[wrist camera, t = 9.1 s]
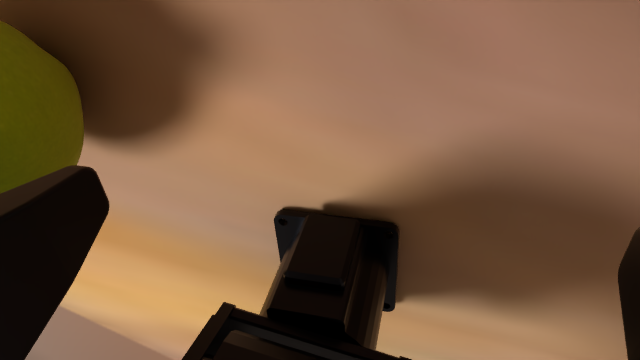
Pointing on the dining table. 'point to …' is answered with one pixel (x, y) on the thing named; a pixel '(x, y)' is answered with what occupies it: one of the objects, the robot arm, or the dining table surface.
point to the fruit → (35, 112)
